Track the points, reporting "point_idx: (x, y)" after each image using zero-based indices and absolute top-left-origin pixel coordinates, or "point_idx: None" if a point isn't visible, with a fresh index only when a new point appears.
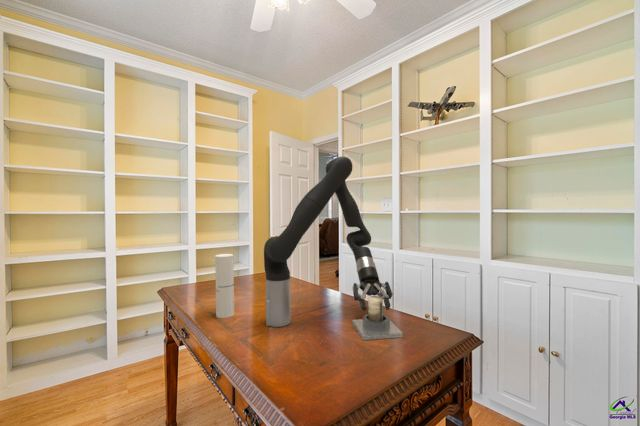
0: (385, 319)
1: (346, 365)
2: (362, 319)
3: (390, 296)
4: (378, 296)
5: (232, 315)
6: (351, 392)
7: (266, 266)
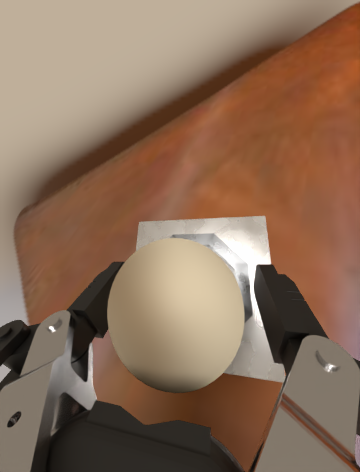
0: None
1: (329, 111)
2: (232, 370)
3: (31, 328)
4: (119, 354)
5: None
6: (324, 46)
7: None
